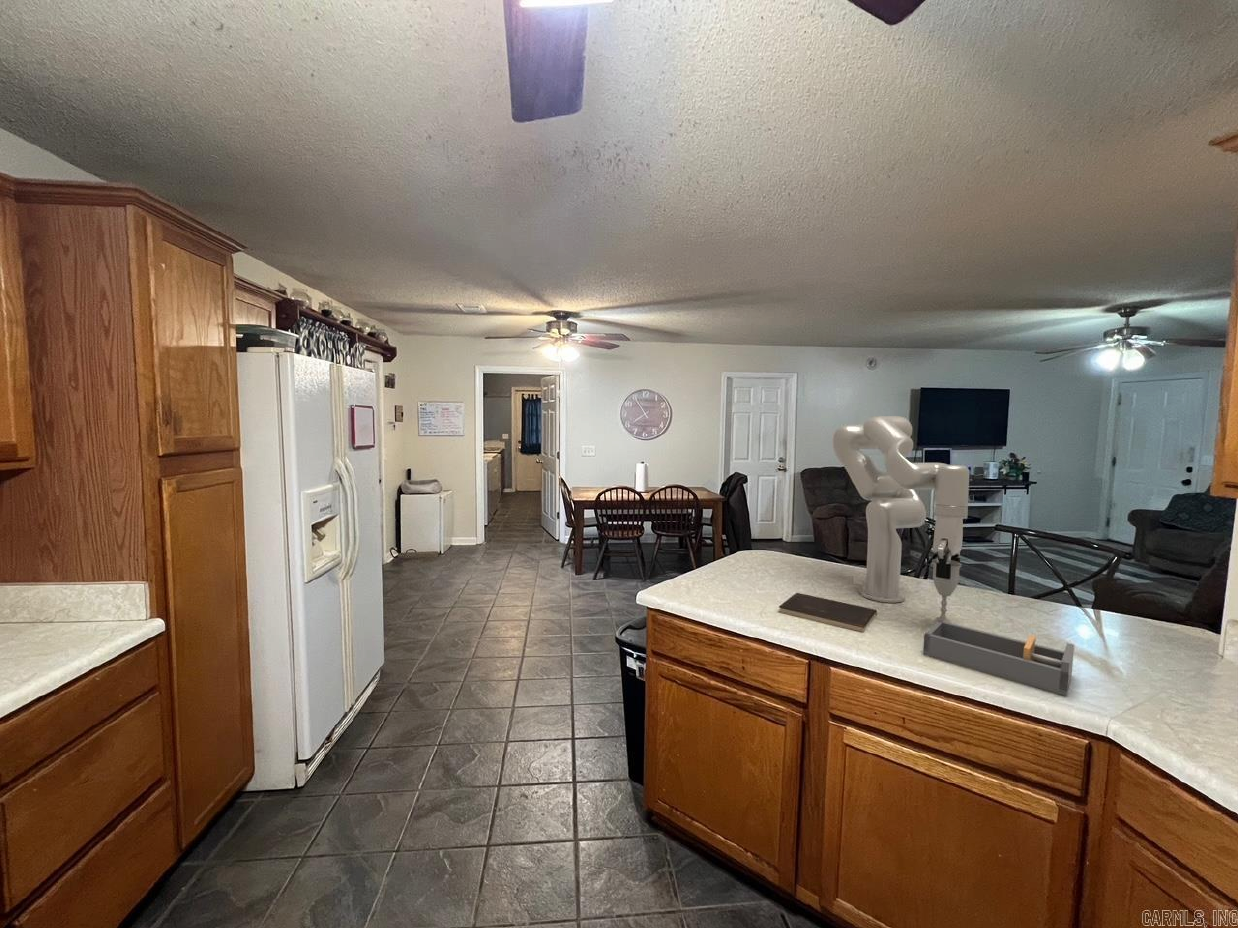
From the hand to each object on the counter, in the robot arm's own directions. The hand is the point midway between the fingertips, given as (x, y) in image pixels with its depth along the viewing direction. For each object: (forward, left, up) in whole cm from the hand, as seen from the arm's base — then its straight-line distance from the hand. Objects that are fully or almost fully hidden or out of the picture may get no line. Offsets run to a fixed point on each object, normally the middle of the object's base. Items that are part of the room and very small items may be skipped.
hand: (947, 574), depth 137 cm
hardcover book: (-27, -13, -16) cm, 33 cm away
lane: (+13, -16, -15) cm, 25 cm away
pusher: (+22, -16, -14) cm, 30 cm away
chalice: (-1, 0, -15) cm, 15 cm away
